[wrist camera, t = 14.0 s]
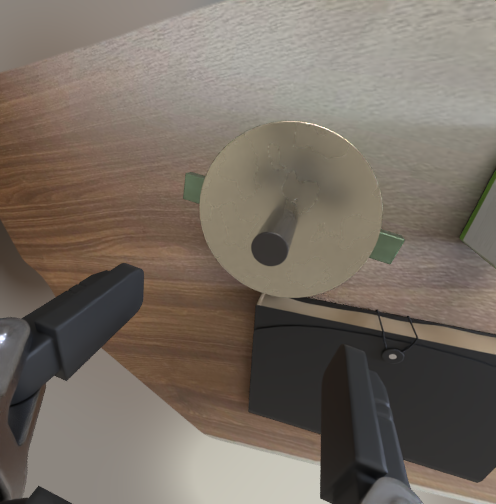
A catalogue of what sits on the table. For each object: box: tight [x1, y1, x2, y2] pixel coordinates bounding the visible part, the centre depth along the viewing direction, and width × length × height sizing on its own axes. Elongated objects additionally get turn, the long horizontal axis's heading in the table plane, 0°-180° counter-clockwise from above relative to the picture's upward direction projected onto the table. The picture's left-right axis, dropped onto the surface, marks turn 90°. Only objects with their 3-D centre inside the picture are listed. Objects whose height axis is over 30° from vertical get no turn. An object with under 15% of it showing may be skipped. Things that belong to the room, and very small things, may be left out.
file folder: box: [248, 293, 496, 483], centre depth 35 cm, size 33×4×24 cm
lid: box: [199, 121, 383, 298], centre depth 19 cm, size 15×15×7 cm
